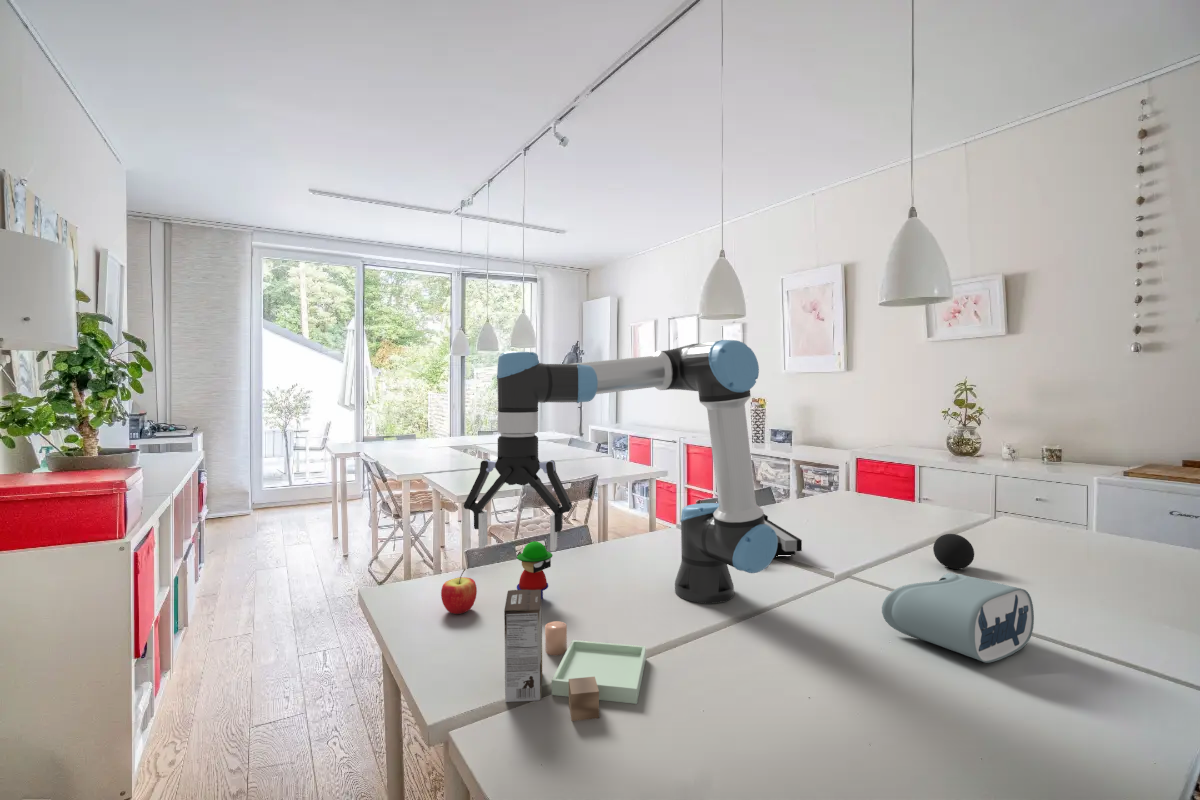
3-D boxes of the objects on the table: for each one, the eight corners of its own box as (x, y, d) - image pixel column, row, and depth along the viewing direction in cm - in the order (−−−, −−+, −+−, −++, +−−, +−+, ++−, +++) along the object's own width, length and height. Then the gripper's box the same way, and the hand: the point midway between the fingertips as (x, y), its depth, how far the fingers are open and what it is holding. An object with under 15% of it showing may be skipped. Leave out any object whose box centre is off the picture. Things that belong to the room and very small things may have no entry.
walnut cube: (594, 702, 91) (594, 676, 90) (599, 718, 86) (598, 691, 86) (568, 705, 90) (568, 678, 90) (571, 721, 85) (571, 694, 85)
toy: (543, 591, 140) (542, 535, 139) (559, 602, 132) (558, 542, 132) (511, 599, 135) (510, 540, 134) (526, 611, 128) (525, 549, 127)
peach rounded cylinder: (569, 645, 110) (568, 622, 110) (563, 656, 106) (563, 631, 106) (548, 644, 111) (548, 620, 111) (542, 654, 107) (542, 630, 107)
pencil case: (975, 673, 98) (972, 604, 98) (880, 636, 115) (878, 577, 115) (1035, 646, 108) (1032, 583, 109) (940, 615, 125) (937, 561, 125)
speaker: (973, 566, 157) (973, 532, 157) (975, 576, 148) (975, 541, 148) (933, 560, 162) (933, 528, 162) (933, 570, 154) (933, 536, 153)
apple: (484, 610, 128) (483, 569, 128) (453, 622, 122) (452, 579, 121) (465, 601, 133) (464, 562, 133) (434, 612, 127) (433, 571, 127)
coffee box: (508, 674, 99) (507, 589, 99) (543, 672, 100) (542, 588, 100) (503, 703, 90) (502, 609, 90) (541, 701, 91) (540, 608, 90)
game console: (735, 565, 160) (735, 538, 160) (704, 535, 192) (704, 513, 192) (801, 562, 162) (801, 536, 162) (760, 533, 194) (760, 511, 194)
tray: (645, 659, 105) (645, 646, 105) (636, 703, 90) (636, 688, 90) (572, 652, 107) (572, 639, 107) (551, 694, 93) (551, 680, 93)
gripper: (586, 433, 101) (586, 544, 102) (461, 432, 104) (461, 539, 105) (580, 437, 94) (580, 556, 94) (445, 435, 97) (446, 551, 97)
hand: (518, 547), depth 99 cm, fingers open, 13 cm apart
